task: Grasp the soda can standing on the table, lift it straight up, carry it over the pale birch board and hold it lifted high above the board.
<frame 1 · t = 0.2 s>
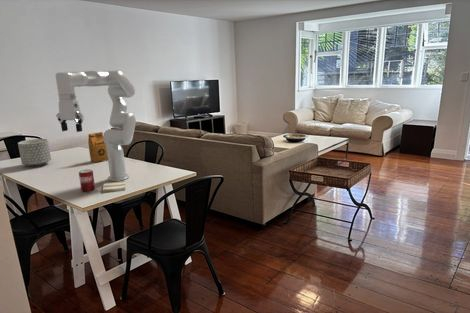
hand: (72, 131, 169), 36 cm above the table, tool pointing down, fingers open, 9 cm apart
coffee package: (100, 161, 253), on the table
planter: (37, 165, 245), on the table
birch board: (114, 187, 191), on the table
soda can: (88, 191, 187), on the table
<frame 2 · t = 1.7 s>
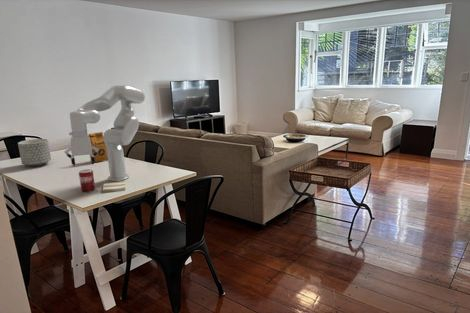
hand: (83, 164, 183), 16 cm above the table, tool pointing down, fingers open, 9 cm apart
nothing on the table moved.
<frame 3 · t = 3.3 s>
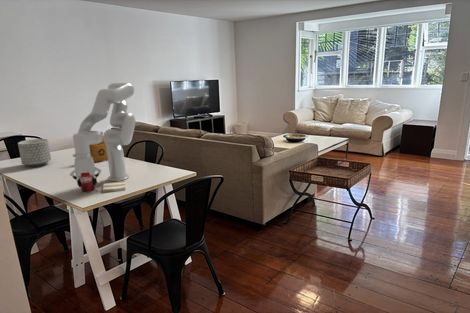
hand: (87, 185, 186), 3 cm above the table, tool pointing down, fingers closed on soda can, 7 cm apart
soda can: (88, 191, 187), on the table, touching gripper
everything else where it was.
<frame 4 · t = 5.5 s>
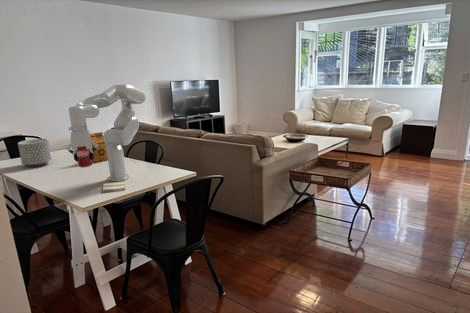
hand: (84, 160, 183), 18 cm above the table, tool pointing down, fingers closed on soda can, 7 cm apart
soda can: (85, 166, 184), point 15 cm above the table, touching gripper
everything else where it was.
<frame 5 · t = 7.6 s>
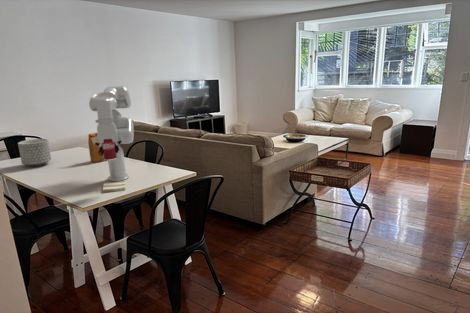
hand: (109, 152, 183), 22 cm above the table, tool pointing down, fingers closed on soda can, 7 cm apart
soda can: (110, 159, 184), point 18 cm above the table, touching gripper
everything else where it was.
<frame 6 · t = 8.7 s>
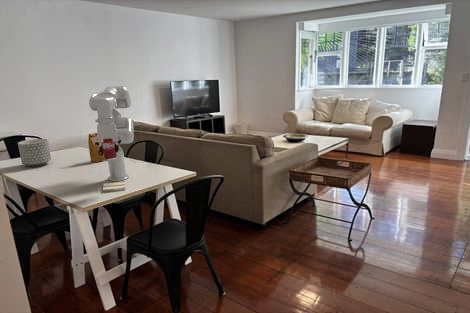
hand: (109, 152, 183), 22 cm above the table, tool pointing down, fingers closed on soda can, 7 cm apart
soda can: (110, 158, 184), point 18 cm above the table, touching gripper
everything else where it was.
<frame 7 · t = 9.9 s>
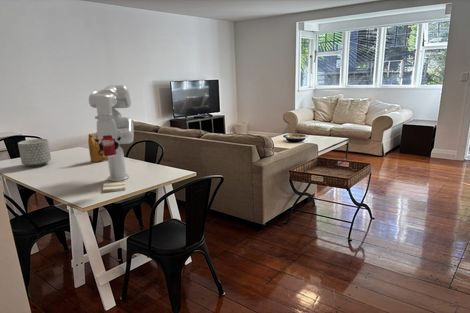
hand: (109, 149, 183), 24 cm above the table, tool pointing down, fingers closed on soda can, 7 cm apart
soda can: (110, 155, 184), point 20 cm above the table, touching gripper
everything else where it was.
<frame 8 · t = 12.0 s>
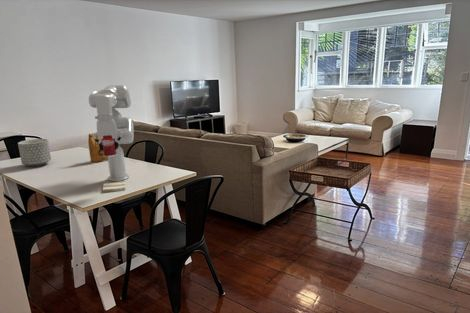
hand: (109, 149, 183), 24 cm above the table, tool pointing down, fingers closed on soda can, 7 cm apart
soda can: (110, 155, 184), point 20 cm above the table, touching gripper
everything else where it was.
at the end: the gripper is holding soda can; soda can point 20.0 cm above the table; soda can 2.9 cm from the birch board (horizontally) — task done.
